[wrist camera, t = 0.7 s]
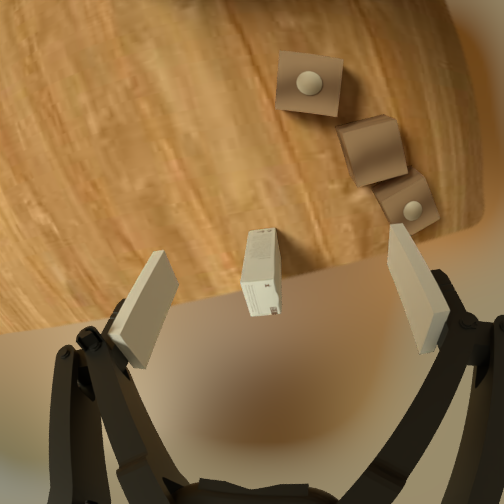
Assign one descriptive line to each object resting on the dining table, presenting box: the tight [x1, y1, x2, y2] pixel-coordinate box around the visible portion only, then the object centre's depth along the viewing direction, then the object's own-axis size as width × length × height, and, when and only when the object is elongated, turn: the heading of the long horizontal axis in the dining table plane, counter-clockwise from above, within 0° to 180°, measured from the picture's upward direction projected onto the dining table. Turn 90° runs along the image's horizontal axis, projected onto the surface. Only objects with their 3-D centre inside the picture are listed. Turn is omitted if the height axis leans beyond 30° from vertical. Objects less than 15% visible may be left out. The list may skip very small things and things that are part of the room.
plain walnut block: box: [335, 114, 408, 187], centre depth 33 cm, size 7×7×5 cm
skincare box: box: [240, 228, 282, 316], centre depth 40 cm, size 6×4×12 cm
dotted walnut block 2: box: [371, 166, 440, 236], centre depth 36 cm, size 7×7×5 cm
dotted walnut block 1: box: [275, 50, 343, 117], centre depth 30 cm, size 7×7×5 cm
